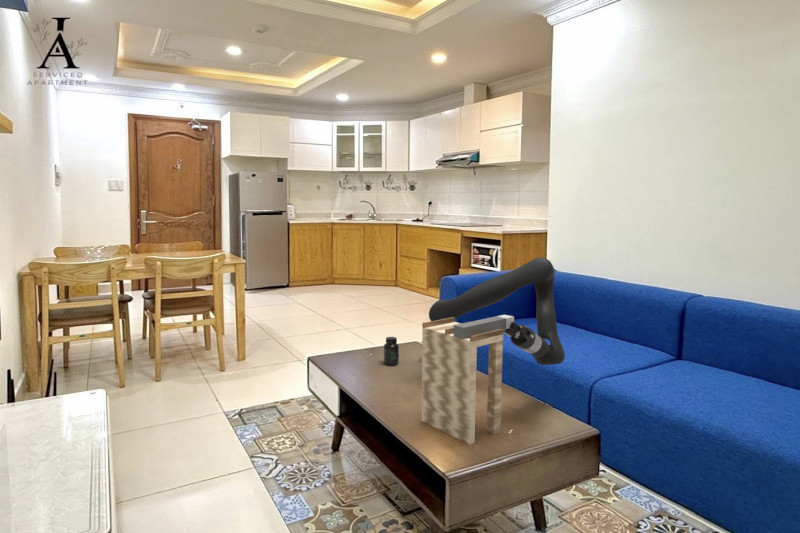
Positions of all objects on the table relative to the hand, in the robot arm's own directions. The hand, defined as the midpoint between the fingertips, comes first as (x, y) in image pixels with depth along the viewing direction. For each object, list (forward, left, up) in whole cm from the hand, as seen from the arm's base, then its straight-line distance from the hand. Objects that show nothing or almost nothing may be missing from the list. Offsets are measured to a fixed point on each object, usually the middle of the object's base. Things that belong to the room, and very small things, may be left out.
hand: (500, 322), depth 170 cm
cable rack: (-5, -13, -34) cm, 37 cm away
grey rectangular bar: (0, -8, -2) cm, 8 cm away
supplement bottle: (-70, +10, -34) cm, 79 cm away
